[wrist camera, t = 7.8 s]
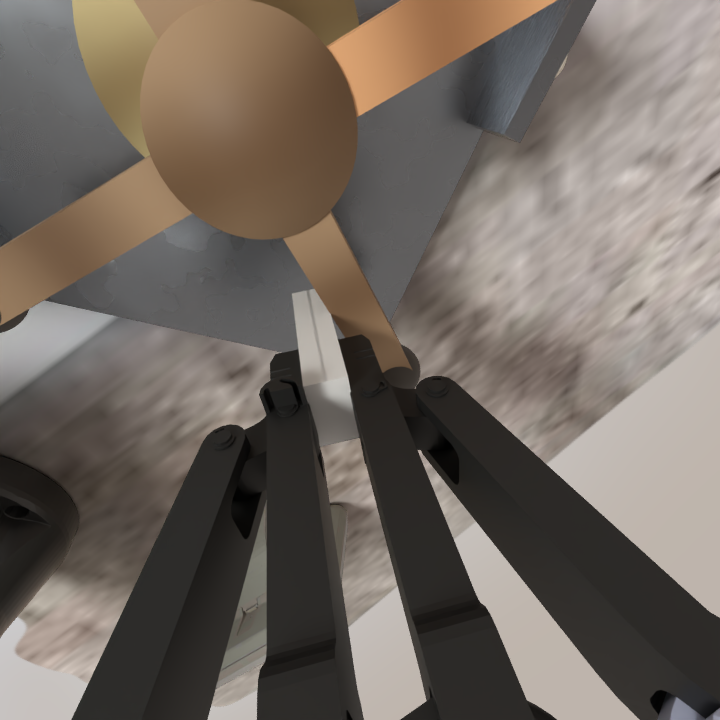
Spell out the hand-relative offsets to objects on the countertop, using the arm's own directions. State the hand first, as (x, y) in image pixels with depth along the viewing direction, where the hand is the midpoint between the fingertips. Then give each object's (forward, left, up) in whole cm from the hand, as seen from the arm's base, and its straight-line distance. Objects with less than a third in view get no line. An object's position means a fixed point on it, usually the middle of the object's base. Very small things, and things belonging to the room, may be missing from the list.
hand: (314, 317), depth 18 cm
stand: (+6, +4, -7) cm, 10 cm away
